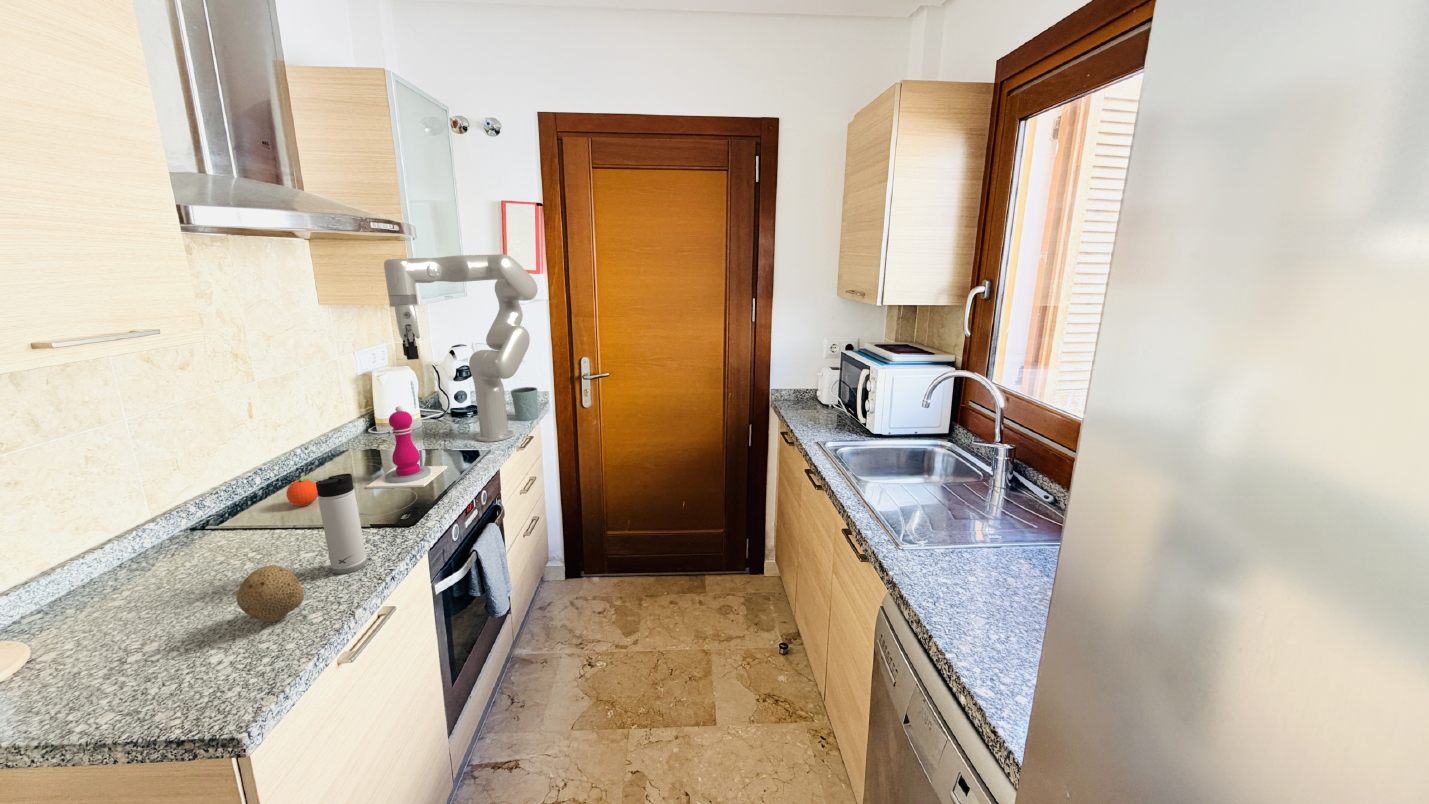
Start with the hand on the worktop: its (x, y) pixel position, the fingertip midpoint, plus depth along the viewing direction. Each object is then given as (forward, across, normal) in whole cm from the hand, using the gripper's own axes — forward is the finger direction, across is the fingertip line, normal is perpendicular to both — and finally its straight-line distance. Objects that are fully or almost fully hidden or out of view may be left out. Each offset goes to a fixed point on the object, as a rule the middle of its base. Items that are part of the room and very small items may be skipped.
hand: (411, 357), depth 180 cm
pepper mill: (+32, -14, +6) cm, 36 cm away
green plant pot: (+34, +34, -41) cm, 63 cm away
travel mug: (+34, -67, +22) cm, 78 cm away
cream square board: (+33, -15, +6) cm, 37 cm away
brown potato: (+34, -81, +33) cm, 94 cm away
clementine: (+34, -21, +31) cm, 50 cm away
